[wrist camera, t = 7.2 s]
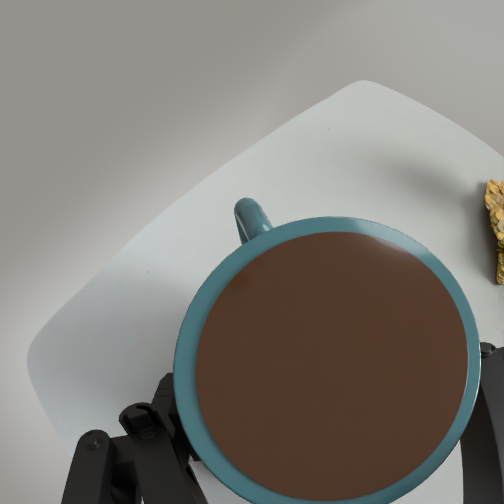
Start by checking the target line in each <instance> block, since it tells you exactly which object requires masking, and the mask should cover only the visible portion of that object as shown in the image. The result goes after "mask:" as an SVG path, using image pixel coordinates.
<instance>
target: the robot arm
mask: <svg viewBox="0 0 504 504" xmlns="http://www.w3.org/2000/svg"><path fill="white" fill-rule="evenodd" d="M480 350H481V374H480V382H479V389H478V394H477V397H476V401H475V405H474V408H473V411H472V414H471V416H470V419H469V421H468V424H467V426H466V428H465V430H464V432H463V434H462V436H461V437H460V444H461V454H462V467H463V504H504V347H501V348H496V347H495V346H494V345H492V344H490V343H486V342H480ZM154 396H155V397H154V398H153V401H152V403H151V404H150V403H144V402H141V403H135V404H133V405H130V406H128V407H127V408H125V409H124V410H123V411H122V412H121V414H120V415H119V422H120V424H121V425H122V427H123V428H124V430H125V431H126V433H127V434H128V435H126V436H120V437H114V438H110V437H109V436H108V434H107V433H106V432H104V431H102V430H97V429H96V430H91V431H89V432H86V433H85V434H84V435H82V436H81V437H80V439H79V441H78V443H77V447H76V450H75V453H74V456H73V460H72V463H71V467H70V471H69V474H68V478H67V481H66V485H65V489H64V493H63V498H62V502H61V504H141V502H142V498H143V501H144V504H208V502H207V500H206V498H205V496H204V494H203V492H202V490H201V488H200V486H199V483H198V481H197V479H196V477H195V475H194V472H193V470H192V468H191V466H190V465H189V463H188V461H189V455H191V456H192V458H193V460H194V461H201V459H200V458H199V456H198V455H197V454H196V452H195V451H194V449H193V447H192V445H191V443H190V441H189V439H188V437H187V435H186V433H185V431H184V429H183V426H182V423H181V420H180V417H179V414H178V410H177V406H176V400H175V393H174V384H173V373H167V374H166V375H165V376H164V377H163V378H162V379H161V380H160V383H159V385H158V388H157V391H156V393H155V395H154Z"/></svg>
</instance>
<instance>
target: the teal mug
mask: <svg viewBox="0 0 504 504" xmlns="http://www.w3.org/2000/svg"><path fill="white" fill-rule="evenodd" d="M234 214H235V218H236V223H237V227H238V231H239V235H240V240H241V244H242V246H240V247H239V248H238V249H237V250H235V251H234V252H233V253H232V254H230V255H229V256H228V257H226V258H225V259H224V260H223V261H222V262H221V263H220V264H219V265H218V267H217V268H216V269H215V270H214V271H213V272H212V273H211V274H210V275H209V277H208V278H207V279H206V281H205V282H204V283H203V284H202V286H201V287H200V289H199V290H198V292H197V294H196V295H195V297H194V299H193V301H192V302H191V304H190V306H189V308H188V310H187V313H186V315H185V318H184V320H183V322H182V325H181V328H180V332H179V336H178V339H177V343H176V349H175V356H174V364H173V384H174V393H175V400H176V406H177V410H178V414H179V417H180V420H181V423H182V426H183V429H184V431H185V433H186V435H187V437H188V439H189V441H190V443H191V445H192V447H193V449H194V451H195V452H196V454H197V455H198V456H199V458H200V459H201V461H202V462H203V463H204V465H205V466H206V467H207V468H208V469H209V471H210V472H211V473H212V474H213V475H214V476H215V477H216V478H217V479H218V480H219V481H220V482H221V483H222V484H224V485H225V486H226V487H228V488H229V489H230V490H232V491H233V492H234V493H236V494H237V495H238V496H240V497H242V498H244V499H245V500H247V501H249V502H251V503H253V504H389V503H391V502H393V501H395V500H397V499H399V498H400V497H402V496H404V495H405V494H407V493H409V492H410V491H412V490H413V489H414V488H416V487H417V486H418V485H420V484H421V483H422V482H423V481H425V480H426V479H427V478H428V477H429V476H430V475H431V474H432V473H433V472H434V471H435V470H436V469H437V468H438V467H439V466H440V465H441V464H442V463H443V462H444V461H445V459H446V458H447V457H448V455H449V454H450V453H451V451H452V450H453V449H454V447H455V446H456V444H457V443H458V441H459V439H460V437H461V436H462V434H463V432H464V430H465V428H466V426H467V424H468V421H469V419H470V416H471V414H472V411H473V408H474V405H475V401H476V397H477V394H478V389H479V382H480V374H481V350H480V341H479V334H478V330H477V326H476V322H475V318H474V315H473V312H472V310H471V307H470V305H469V302H468V300H467V298H466V296H465V294H464V292H463V291H462V289H461V287H460V285H459V284H458V282H457V281H456V279H455V278H454V277H453V275H452V274H451V272H450V271H449V270H448V269H447V268H446V267H445V265H444V264H443V263H442V262H441V261H440V260H439V259H438V258H437V257H436V256H435V255H434V254H432V253H431V252H430V251H429V250H428V249H427V248H425V247H424V246H423V245H421V244H420V243H418V242H417V241H415V240H414V239H412V238H411V237H409V236H407V235H405V234H403V233H401V232H399V231H397V230H395V229H393V228H390V227H387V226H385V225H382V224H379V223H375V222H372V221H368V220H364V219H357V218H350V217H318V218H309V219H304V220H299V221H294V222H290V223H287V224H284V225H281V226H278V227H275V228H273V227H272V225H271V223H270V221H269V220H268V218H267V216H266V215H265V213H264V211H263V209H262V208H261V206H260V205H259V204H258V203H257V202H256V201H255V200H254V199H251V198H243V199H241V200H239V201H238V202H237V203H236V205H235V207H234Z"/></svg>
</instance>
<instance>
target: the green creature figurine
mask: <svg viewBox="0 0 504 504" xmlns="http://www.w3.org/2000/svg"><path fill="white" fill-rule="evenodd" d="M484 198H485V201H486V204H485V205H486V207H487V208H488V209H489V210H490V211H491V212H490V214H491V215H490V217H491V219H490V220H491V223H492V224H491V226H492V227H493V230H494V233H495V234H496V235H497V238H498V240H499V241H498V245H499V246H500V247H501V248H500V249H497V251H498V252H499V255H498V257H499V259H498V261H499V263H498V264H497V278H496V279H497V283H498V284H500V283H501V284H502V283H503V284H504V250H502V249H503V248H504V181H502V182H498V181H497V182H496V181H494V180H492V179H491V181H490V182H487V189H486V194H485V196H484Z"/></svg>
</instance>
